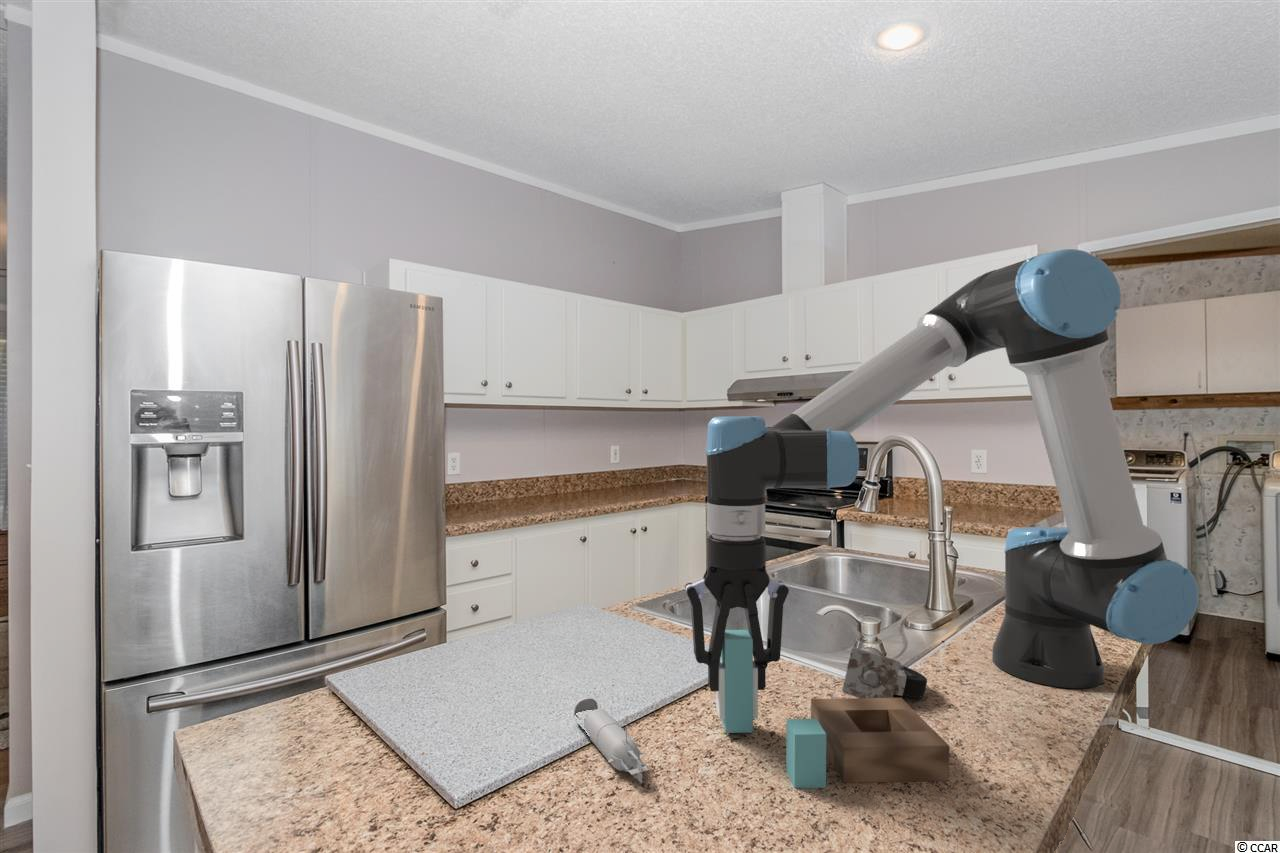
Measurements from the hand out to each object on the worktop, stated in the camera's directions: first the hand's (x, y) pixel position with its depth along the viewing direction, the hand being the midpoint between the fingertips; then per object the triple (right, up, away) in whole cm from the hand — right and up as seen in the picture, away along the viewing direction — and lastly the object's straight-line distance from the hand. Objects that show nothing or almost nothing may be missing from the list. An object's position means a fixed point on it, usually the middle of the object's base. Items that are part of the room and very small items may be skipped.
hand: (736, 713), depth 82 cm
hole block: (+16, -2, -5) cm, 17 cm away
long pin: (0, -2, 0) cm, 2 cm away
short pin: (+6, -2, -11) cm, 13 cm away
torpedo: (-17, -3, -5) cm, 17 cm away
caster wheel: (+24, -2, +11) cm, 26 cm away
